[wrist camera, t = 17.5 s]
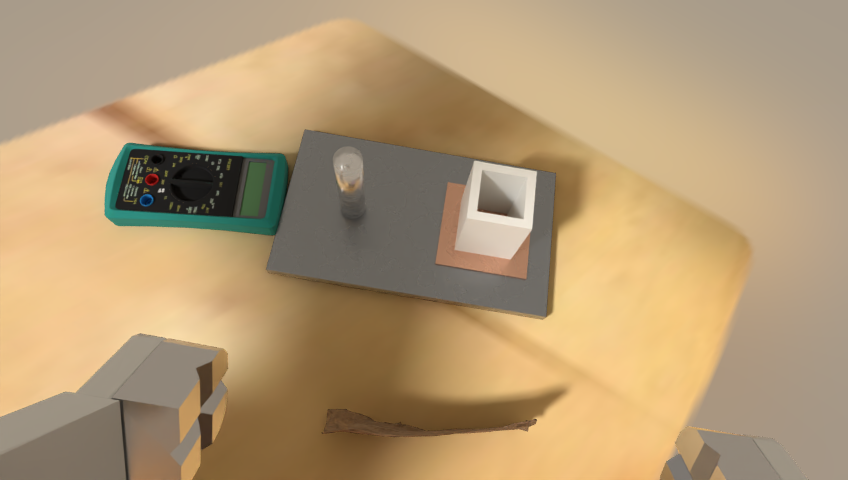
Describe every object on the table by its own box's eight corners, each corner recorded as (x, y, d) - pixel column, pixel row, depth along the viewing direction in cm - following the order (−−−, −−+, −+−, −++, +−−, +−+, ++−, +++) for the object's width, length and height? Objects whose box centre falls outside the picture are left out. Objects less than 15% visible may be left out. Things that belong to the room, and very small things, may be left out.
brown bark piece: (519, 409, 43) (536, 405, 38) (521, 436, 42) (538, 435, 38) (328, 409, 42) (322, 406, 37) (327, 437, 41) (320, 437, 36)
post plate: (268, 272, 45) (241, 231, 36) (306, 135, 50) (290, 69, 42) (542, 319, 46) (581, 289, 37) (552, 178, 51) (588, 122, 42)
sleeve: (454, 249, 46) (466, 218, 40) (461, 199, 48) (474, 160, 41) (510, 259, 46) (532, 229, 40) (515, 208, 48) (536, 171, 42)
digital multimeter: (129, 154, 49) (114, 137, 46) (292, 165, 50) (287, 149, 47) (109, 227, 46) (92, 214, 43) (281, 238, 47) (275, 226, 44)
